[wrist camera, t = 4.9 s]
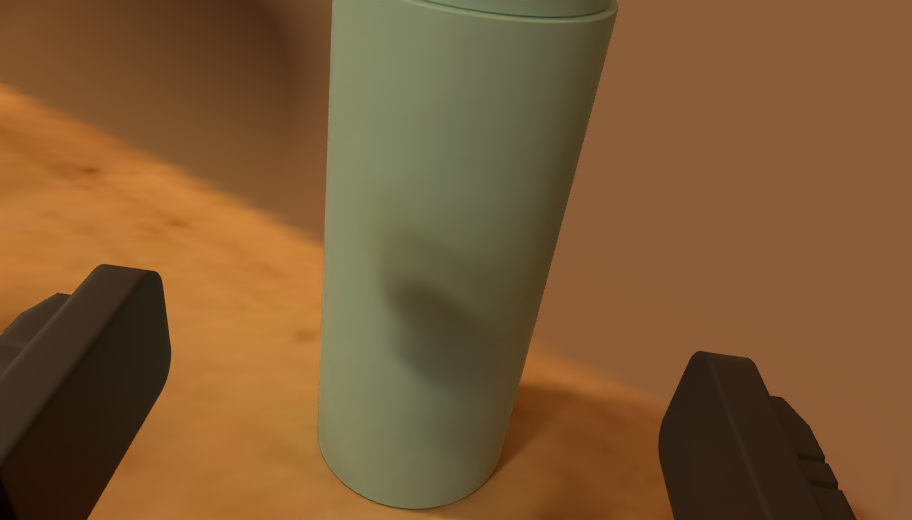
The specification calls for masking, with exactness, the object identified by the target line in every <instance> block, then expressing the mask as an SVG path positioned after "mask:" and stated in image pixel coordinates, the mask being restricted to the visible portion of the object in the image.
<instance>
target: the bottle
mask: <svg viewBox="0 0 912 520" xmlns="http://www.w3.org/2000/svg"><path fill="white" fill-rule="evenodd" d="M332 3H333V4H332V31H331V60H330V89H329V118H328V120H329V121H328V149H327V178H326V206H325V235H324V264H323V293H322V322H321V351H320V380H319V409H318V440H319V445H320V449H321V452H322V455H323V457H324V459H325V461H326V463H327V464H328V466H329V468H330V469H331V470H332V471H333V473H334V474H335V475H336V477H338V478H339V479H340V480H341V481H342V482H343V483H344V484H345V485H346V486H348V487H349V488H350V489H352V490H353V491H354V492H356V493H358V494H360V495H362V496H363V497H365V498H367V499H370V500H372V501H375V502H377V503H380V504H384V505H388V506H391V507H398V508H405V509H425V508H434V507H439V506H444V505H447V504H450V503H453V502H456V501H458V500H460V499H462V498H464V497H466V496H468V495H470V494H471V493H473V492H474V491H476V490H477V489H478V488H479V487H480V486H481V485H483V484H484V483H485V482H486V481H487V479H488V478H489V477H490V476H491V474H492V473H493V471H494V469H495V468H496V466H497V463H498V461H499V458H500V455H501V451H502V448H503V444H504V440H505V436H506V432H507V429H508V425H509V421H510V417H511V413H512V410H513V406H514V402H515V398H516V395H517V391H518V387H519V383H520V379H521V376H522V372H523V368H524V364H525V360H526V357H527V353H528V349H529V345H530V342H531V338H532V334H533V330H534V326H535V323H536V319H537V315H538V311H539V307H540V304H541V300H542V296H543V292H544V289H545V285H546V281H547V277H548V273H549V269H550V266H551V262H552V258H553V254H554V251H555V247H556V243H557V239H558V235H559V232H560V228H561V224H562V220H563V217H564V213H565V209H566V205H567V201H568V197H569V194H570V190H571V186H572V182H573V179H574V175H575V171H576V167H577V163H578V160H579V156H580V152H581V148H582V144H583V141H584V137H585V133H586V129H587V126H588V122H589V118H590V114H591V111H592V107H593V103H594V99H595V95H596V92H597V88H598V84H599V80H600V77H601V73H602V69H603V65H604V61H605V58H606V54H607V50H608V46H609V42H610V38H611V35H612V31H613V27H614V23H615V20H616V16H617V12H618V4H617V2H616V1H615V0H333V2H332Z"/></svg>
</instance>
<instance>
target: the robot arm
mask: <svg viewBox="0 0 912 520" xmlns="http://www.w3.org/2000/svg"><path fill="white" fill-rule="evenodd" d="M170 362H171V345H170V337H169V329H168V322H167V314H166V306H165V299H164V291H163V284H162V280H161V277H160V275H159V274H158V273H157V272H155V271H150V270H143V269H136V268H129V267H122V266H115V265H108V264H102V265H99V266H98V267H96V268H95V269H94V270H93V271H92V272H91V273H90V275H89V276H88V277H87V278H86V279H85V280H84V281H83V282H82V284H81V285H80V286H79V287H78V288H77V289H76V290H75V292H74V293H73V294H72V295H68V294H61V293H57V294H55V295H53V296H51V297H50V298H48V299H46V300H44V301H43V302H41V303H39V304H37V305H35V306H34V307H32V308H30V309H28V310H27V311H25V312H23V313H21V314H20V315H19V316H18V317H17V319H16V320H15V321H14V322H13V323H12V324H11V325H10V326H9V327H8V328H7V329H6V330H5V331H4V332H3V333H2V334H1V335H0V520H87V518H88V517H89V515H90V513H91V512H92V510H93V508H94V506H95V505H96V503H97V501H98V500H99V498H100V496H101V494H102V493H103V491H104V489H105V488H106V486H107V484H108V482H109V481H110V479H111V477H112V476H113V474H114V472H115V470H116V469H117V467H118V465H119V464H120V462H121V460H122V458H123V457H124V455H125V453H126V452H127V450H128V448H129V446H130V445H131V443H132V441H133V440H134V438H135V436H136V434H137V433H138V431H139V429H140V428H141V426H142V424H143V422H144V421H145V419H146V417H147V416H148V414H149V412H150V410H151V409H152V407H153V405H154V403H155V402H156V400H157V398H158V397H159V395H160V393H161V391H162V389H163V387H164V385H165V383H166V380H167V376H168V373H169V368H170ZM658 448H659V459H660V464H661V468H662V472H663V476H664V480H665V484H666V488H667V492H668V496H669V500H670V505H671V509H672V513H673V517H674V520H857V519H856V517H855V515H854V513H853V511H852V509H851V507H850V506H849V504H848V502H847V500H846V498H845V496H844V494H843V492H842V490H838V482H837V480H836V478H835V476H834V474H833V472H832V470H831V468H830V466H829V464H826V463H825V461H824V460H825V456H824V454H823V452H822V450H821V448H820V446H819V444H818V442H817V440H816V438H815V437H814V434H813V432H812V430H811V429H810V426H809V425H808V424H807V423H806V422H805V421H804V420H803V419H802V418H801V417H800V416H799V415H798V414H797V413H796V412H795V411H794V409H792V407H791V406H790V405H789V404H788V403H787V402H786V401H785V400H784V399H783V398H781V397H775V396H770V395H769V393H768V391H767V389H766V386H765V385H764V382H763V380H762V378H761V376H760V374H759V371H758V369H757V367H756V365H755V363H754V362H753V361H752V360H751V359H749V358H744V357H737V356H731V355H724V354H717V353H709V352H703V351H698V352H696V353H695V354H694V355H693V356H692V357H691V359H690V361H689V363H688V365H687V367H686V369H685V371H684V374H683V376H682V378H681V380H680V382H679V385H678V387H677V389H676V391H675V394H674V396H673V398H672V400H671V402H670V405H669V407H668V409H667V411H666V414H665V416H664V418H663V421H662V424H661V428H660V433H659V446H658Z"/></svg>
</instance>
